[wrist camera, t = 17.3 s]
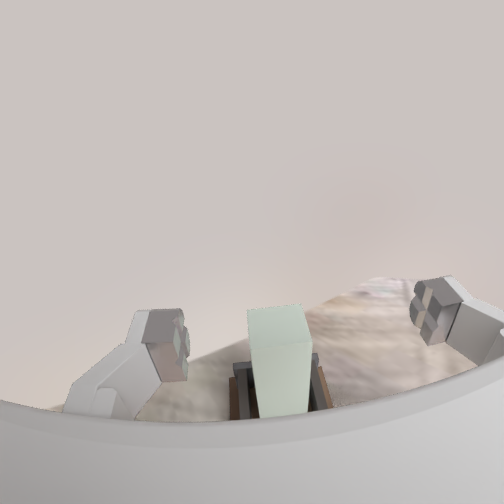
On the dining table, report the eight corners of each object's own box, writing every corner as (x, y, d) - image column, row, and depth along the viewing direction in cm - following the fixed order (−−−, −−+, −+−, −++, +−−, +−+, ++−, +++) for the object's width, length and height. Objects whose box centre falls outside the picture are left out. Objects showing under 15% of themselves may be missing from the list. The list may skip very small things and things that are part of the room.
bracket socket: (232, 462, 28) (225, 444, 26) (230, 382, 38) (224, 357, 36) (342, 448, 28) (348, 428, 26) (320, 371, 39) (323, 345, 36)
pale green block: (261, 430, 31) (249, 349, 24) (258, 393, 35) (246, 306, 29) (306, 424, 31) (312, 341, 24) (298, 388, 35) (300, 300, 29)
